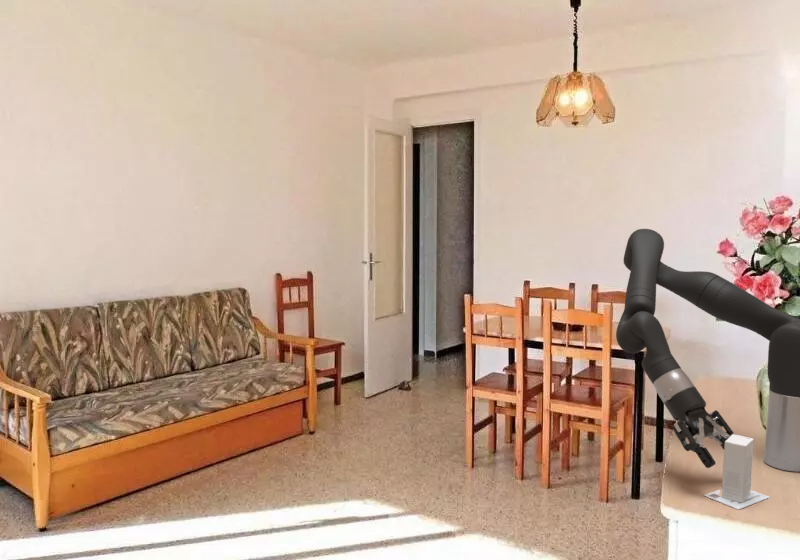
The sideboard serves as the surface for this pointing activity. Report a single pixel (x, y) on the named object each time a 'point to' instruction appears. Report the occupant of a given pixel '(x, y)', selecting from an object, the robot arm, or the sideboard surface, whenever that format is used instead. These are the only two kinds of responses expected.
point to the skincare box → (737, 468)
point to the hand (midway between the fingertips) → (723, 462)
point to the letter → (750, 500)
